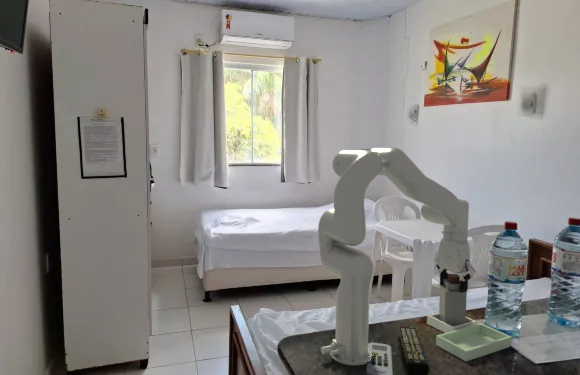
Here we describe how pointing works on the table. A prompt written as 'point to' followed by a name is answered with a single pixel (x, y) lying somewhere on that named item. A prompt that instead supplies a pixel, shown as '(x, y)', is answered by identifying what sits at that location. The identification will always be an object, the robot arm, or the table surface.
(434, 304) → the table surface
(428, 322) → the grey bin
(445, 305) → the perfume bottle
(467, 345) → the green bin
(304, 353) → the table surface
